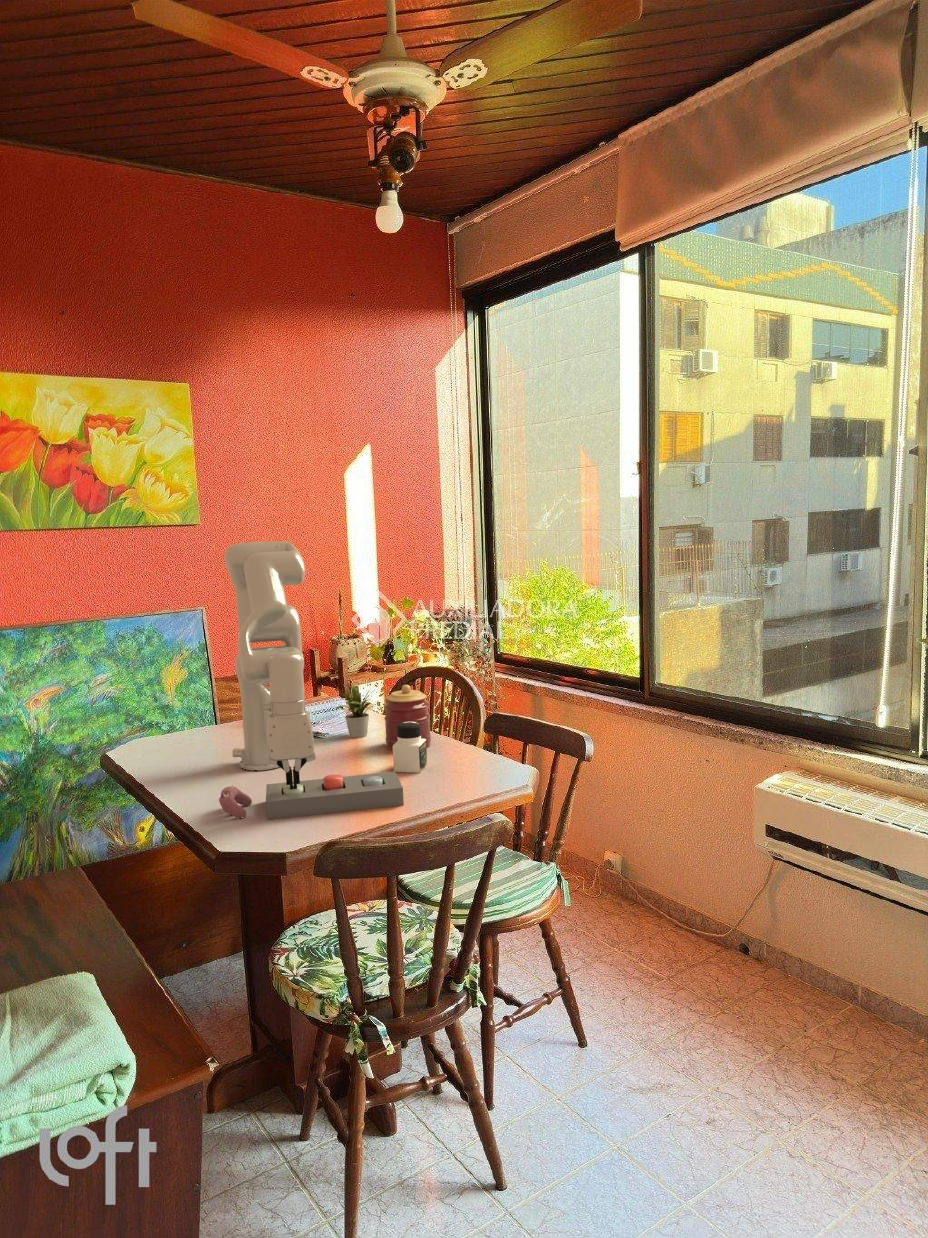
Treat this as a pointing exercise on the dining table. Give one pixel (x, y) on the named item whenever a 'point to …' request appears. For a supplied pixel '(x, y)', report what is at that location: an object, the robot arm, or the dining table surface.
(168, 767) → the dining table surface
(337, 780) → the red button
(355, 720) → the house plant
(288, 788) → the green button
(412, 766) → the medicine bottle
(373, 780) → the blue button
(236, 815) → the video game controller
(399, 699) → the canister
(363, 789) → the button panel
